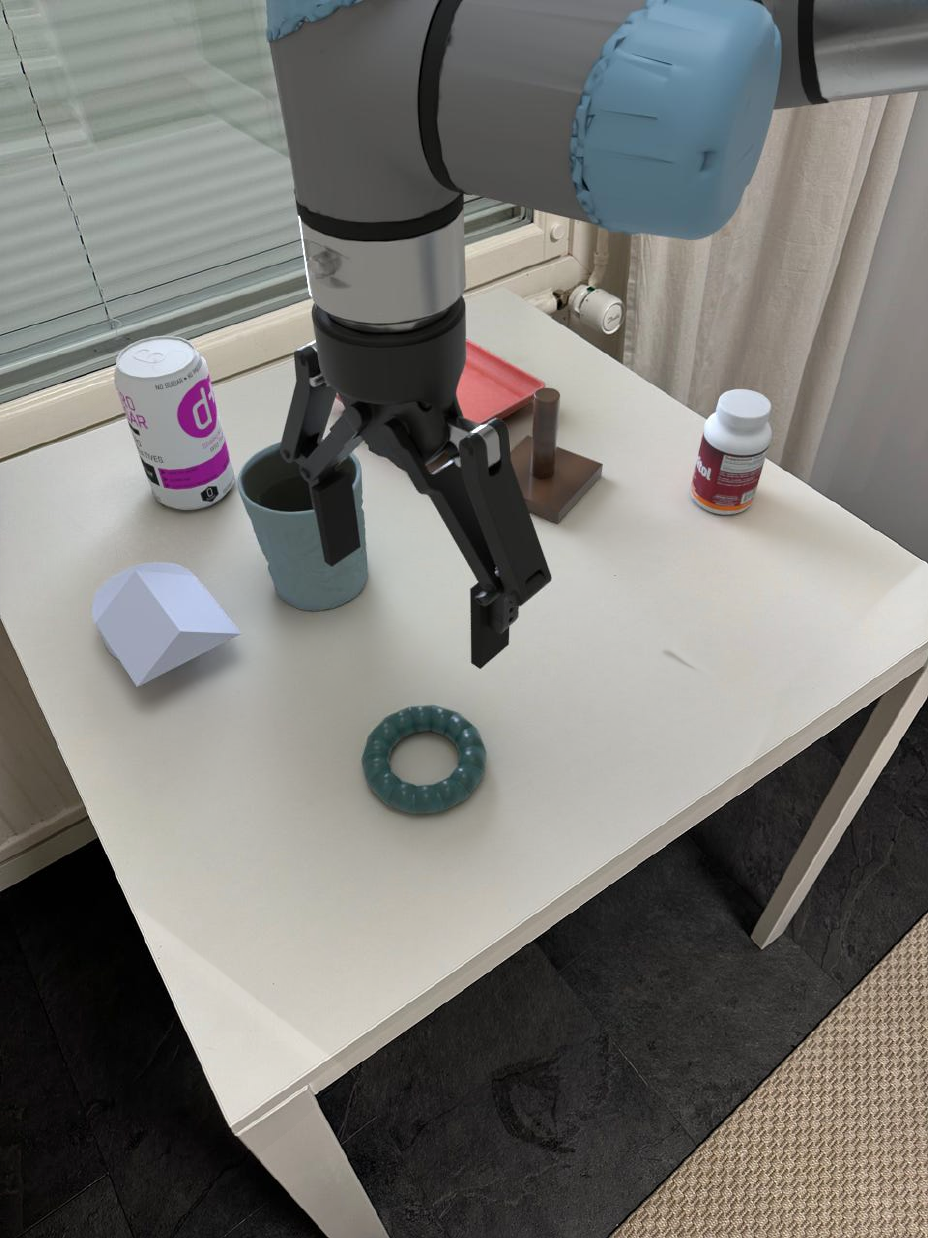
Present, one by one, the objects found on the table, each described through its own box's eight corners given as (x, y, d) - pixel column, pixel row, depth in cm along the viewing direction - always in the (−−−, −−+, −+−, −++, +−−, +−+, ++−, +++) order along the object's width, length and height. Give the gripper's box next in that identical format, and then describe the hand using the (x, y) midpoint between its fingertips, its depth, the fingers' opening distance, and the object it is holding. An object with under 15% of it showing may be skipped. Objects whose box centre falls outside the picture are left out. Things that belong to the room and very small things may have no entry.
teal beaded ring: (508, 750, 69) (509, 734, 67) (438, 841, 63) (437, 827, 62) (412, 697, 72) (411, 681, 71) (338, 780, 67) (335, 765, 65)
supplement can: (251, 474, 92) (220, 343, 81) (203, 523, 87) (163, 389, 76) (187, 455, 94) (148, 325, 83) (137, 501, 89) (89, 369, 78)
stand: (601, 475, 91) (613, 386, 84) (557, 524, 86) (565, 434, 79) (526, 446, 95) (531, 358, 87) (480, 491, 90) (480, 402, 82)
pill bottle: (686, 476, 91) (707, 381, 83) (748, 478, 91) (774, 384, 83) (691, 515, 87) (714, 420, 79) (756, 518, 86) (785, 423, 78)
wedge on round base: (249, 660, 75) (182, 574, 82) (233, 605, 70) (163, 519, 77) (148, 713, 71) (87, 618, 78) (124, 658, 66) (61, 563, 73)
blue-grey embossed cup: (381, 607, 79) (369, 502, 70) (266, 626, 78) (239, 522, 69) (365, 533, 86) (352, 429, 77) (259, 549, 84) (233, 445, 75)
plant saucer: (547, 408, 100) (549, 382, 97) (427, 478, 91) (426, 452, 89) (439, 347, 109) (438, 322, 106) (320, 406, 100) (316, 380, 98)
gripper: (171, 246, 47) (248, 544, 63) (539, 431, 35) (521, 741, 51) (282, 201, 51) (328, 493, 66) (647, 355, 39) (600, 666, 55)
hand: (412, 601), depth 59 cm, fingers open, 13 cm apart
